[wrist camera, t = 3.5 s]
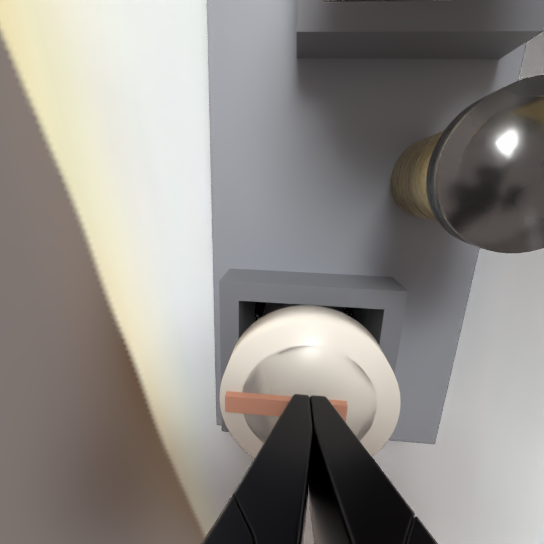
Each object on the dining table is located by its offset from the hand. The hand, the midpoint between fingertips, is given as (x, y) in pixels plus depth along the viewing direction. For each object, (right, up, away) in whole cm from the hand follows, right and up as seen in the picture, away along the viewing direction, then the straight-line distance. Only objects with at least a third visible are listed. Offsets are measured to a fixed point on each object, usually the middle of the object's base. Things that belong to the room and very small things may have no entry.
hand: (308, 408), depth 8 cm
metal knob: (+4, +6, +1) cm, 8 cm away
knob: (0, +1, +5) cm, 6 cm away
